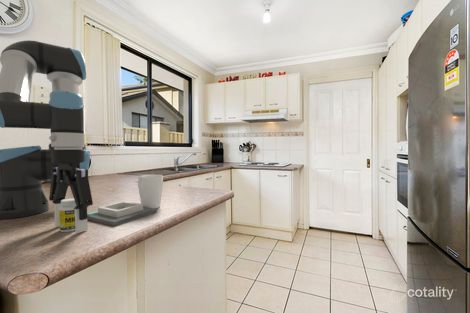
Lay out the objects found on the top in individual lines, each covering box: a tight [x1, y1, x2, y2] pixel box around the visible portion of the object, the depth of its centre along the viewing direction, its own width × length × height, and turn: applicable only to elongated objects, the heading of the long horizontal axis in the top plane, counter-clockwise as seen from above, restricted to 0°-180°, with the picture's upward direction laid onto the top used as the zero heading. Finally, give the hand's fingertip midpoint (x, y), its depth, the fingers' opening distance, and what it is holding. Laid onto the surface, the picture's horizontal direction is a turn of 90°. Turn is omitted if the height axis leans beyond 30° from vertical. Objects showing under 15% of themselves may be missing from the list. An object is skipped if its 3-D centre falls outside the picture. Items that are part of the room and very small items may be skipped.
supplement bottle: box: [59, 197, 76, 233], centre depth 63 cm, size 5×5×8 cm
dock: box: [87, 200, 158, 227], centre depth 77 cm, size 16×16×3 cm
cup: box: [137, 174, 164, 209], centre depth 87 cm, size 9×9×12 cm
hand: (70, 228), depth 64 cm, fingers open, 10 cm apart
